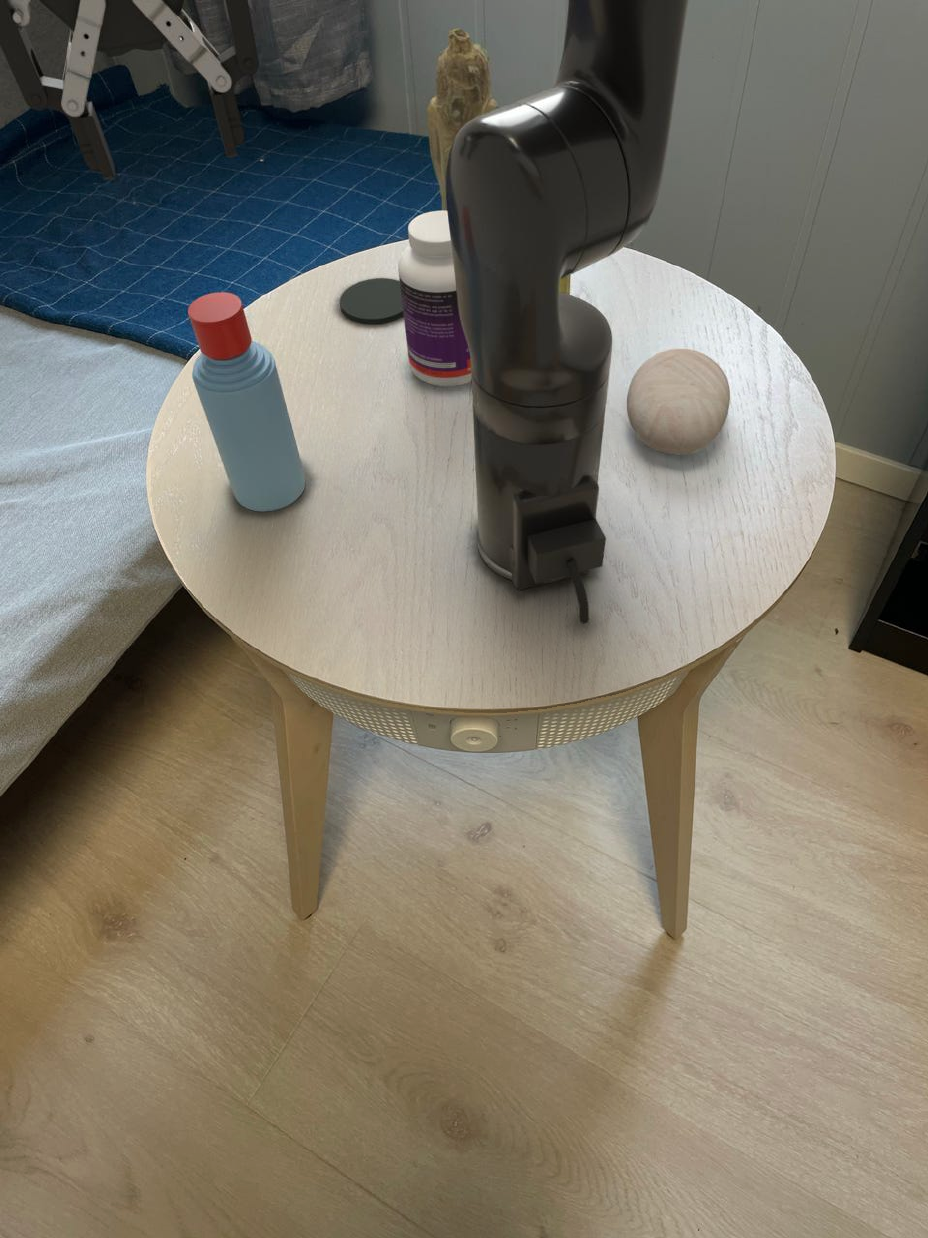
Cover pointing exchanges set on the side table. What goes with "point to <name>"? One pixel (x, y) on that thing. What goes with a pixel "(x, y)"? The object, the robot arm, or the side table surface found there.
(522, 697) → the side table surface
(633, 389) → the decorative stone
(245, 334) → the cap
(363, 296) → the coaster
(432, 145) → the statue
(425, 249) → the pill bottle
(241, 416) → the bottle
